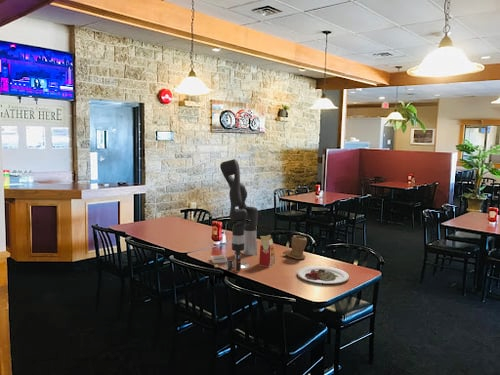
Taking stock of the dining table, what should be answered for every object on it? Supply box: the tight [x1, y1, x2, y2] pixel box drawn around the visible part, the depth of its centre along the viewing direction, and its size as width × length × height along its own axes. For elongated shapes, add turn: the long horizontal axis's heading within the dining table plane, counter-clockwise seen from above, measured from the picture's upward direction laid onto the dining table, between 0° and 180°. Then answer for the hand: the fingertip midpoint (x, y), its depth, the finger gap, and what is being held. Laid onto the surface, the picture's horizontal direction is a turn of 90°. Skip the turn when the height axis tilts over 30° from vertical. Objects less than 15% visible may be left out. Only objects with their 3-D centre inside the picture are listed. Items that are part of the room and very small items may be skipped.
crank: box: [227, 259, 235, 271], centre depth 253 cm, size 13×4×5 cm, turn 155°
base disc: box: [213, 261, 250, 270], centre depth 256 cm, size 22×16×2 cm
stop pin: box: [233, 260, 242, 273], centre depth 246 cm, size 4×4×8 cm
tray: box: [210, 254, 228, 264], centre depth 266 cm, size 9×9×2 cm
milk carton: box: [258, 234, 277, 269], centre depth 259 cm, size 9×9×20 cm
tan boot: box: [282, 234, 308, 260], centre depth 278 cm, size 15×12×15 cm
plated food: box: [296, 265, 350, 285], centre depth 240 cm, size 30×30×3 cm
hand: (237, 268), depth 246 cm, fingers open, 6 cm apart
